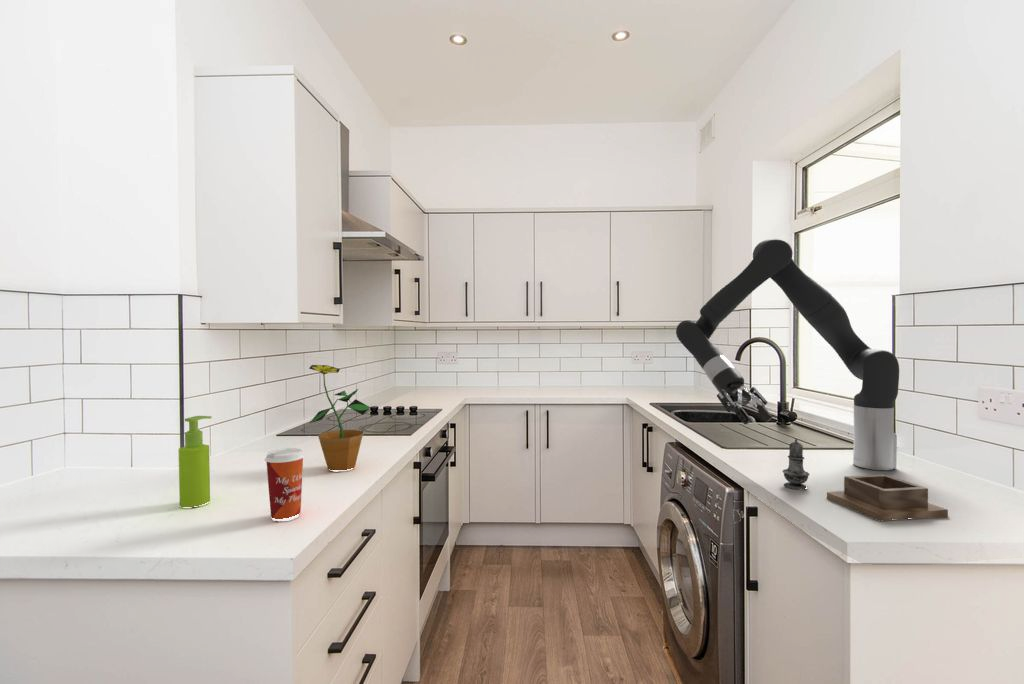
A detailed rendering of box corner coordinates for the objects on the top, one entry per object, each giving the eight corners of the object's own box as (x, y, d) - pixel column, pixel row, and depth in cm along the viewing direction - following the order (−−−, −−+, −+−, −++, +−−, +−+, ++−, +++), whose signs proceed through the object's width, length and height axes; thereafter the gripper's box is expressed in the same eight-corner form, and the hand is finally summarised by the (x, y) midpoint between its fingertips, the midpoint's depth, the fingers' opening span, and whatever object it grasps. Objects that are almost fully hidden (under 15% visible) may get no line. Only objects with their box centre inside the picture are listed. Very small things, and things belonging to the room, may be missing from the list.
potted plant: (314, 482, 130) (312, 367, 129) (304, 465, 146) (302, 363, 145) (382, 472, 139) (381, 364, 138) (365, 457, 155) (364, 361, 154)
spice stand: (888, 494, 117) (888, 471, 117) (947, 516, 104) (948, 490, 103) (826, 498, 115) (827, 474, 115) (879, 521, 101) (879, 494, 101)
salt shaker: (813, 491, 121) (813, 441, 120) (786, 489, 122) (787, 440, 121) (804, 483, 126) (804, 436, 126) (779, 482, 127) (779, 435, 127)
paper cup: (280, 527, 100) (278, 458, 100) (258, 519, 104) (256, 453, 104) (313, 514, 107) (312, 449, 107) (291, 508, 111) (290, 445, 111)
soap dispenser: (220, 499, 117) (218, 415, 116) (192, 510, 110) (190, 420, 110) (201, 497, 119) (199, 413, 118) (173, 507, 112) (171, 418, 112)
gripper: (713, 367, 137) (750, 414, 127) (747, 365, 143) (785, 410, 134) (698, 384, 142) (732, 432, 132) (732, 382, 148) (767, 426, 138)
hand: (759, 421), depth 133 cm, fingers open, 8 cm apart
